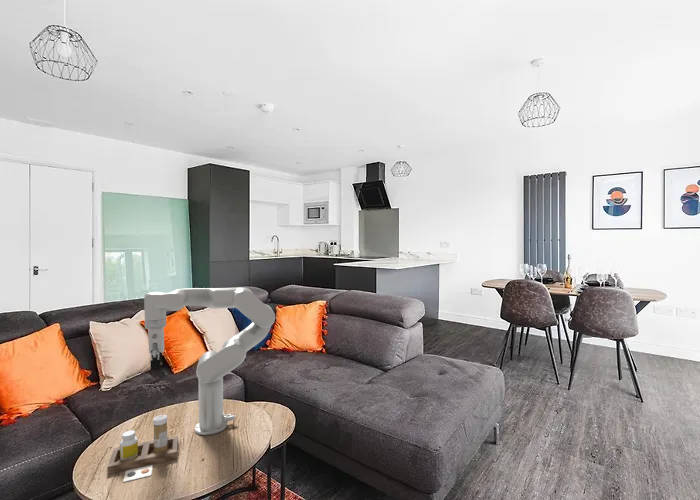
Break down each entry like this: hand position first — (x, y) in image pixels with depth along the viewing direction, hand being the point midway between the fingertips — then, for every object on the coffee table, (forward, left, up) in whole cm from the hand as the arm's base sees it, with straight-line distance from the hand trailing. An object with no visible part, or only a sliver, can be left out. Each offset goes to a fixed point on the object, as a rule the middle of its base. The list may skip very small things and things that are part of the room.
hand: (156, 366), depth 144 cm
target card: (+4, +24, -28) cm, 37 cm away
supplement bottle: (+8, +14, -29) cm, 33 cm away
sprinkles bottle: (-2, +14, -28) cm, 32 cm away
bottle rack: (+3, +14, -28) cm, 32 cm away
